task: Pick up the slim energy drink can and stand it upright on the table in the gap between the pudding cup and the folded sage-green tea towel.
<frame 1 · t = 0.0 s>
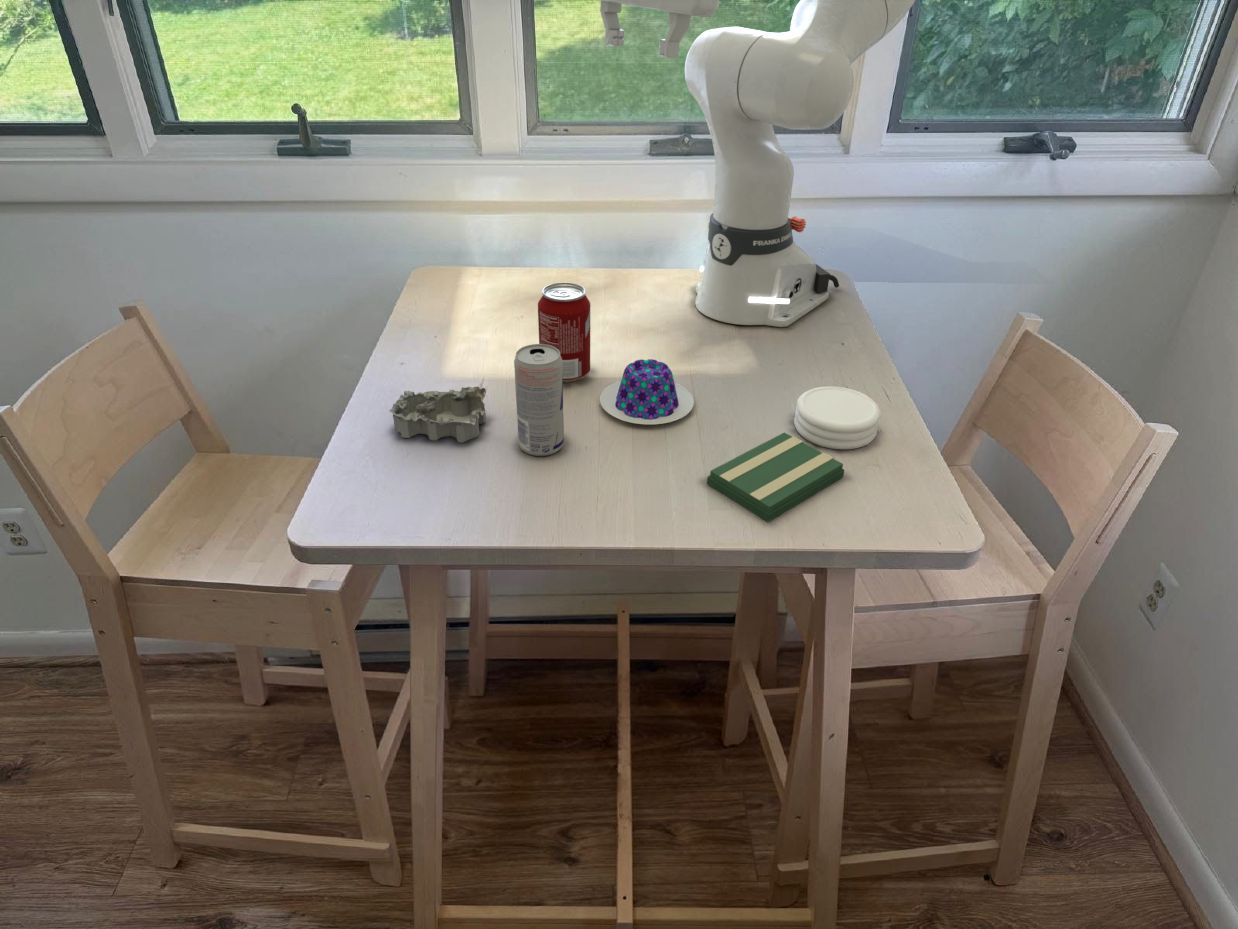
hand: (640, 51, 102), 39 cm above the table, tool pointing down, fingers open, 8 cm apart
pudding: (646, 406, 111), on the table
coaster: (834, 430, 107), on the table
tea towel: (775, 480, 98), on the table
egg carton: (441, 427, 106), on the table
energy drink: (541, 446, 103), on the table
soda can: (565, 375, 118), on the table
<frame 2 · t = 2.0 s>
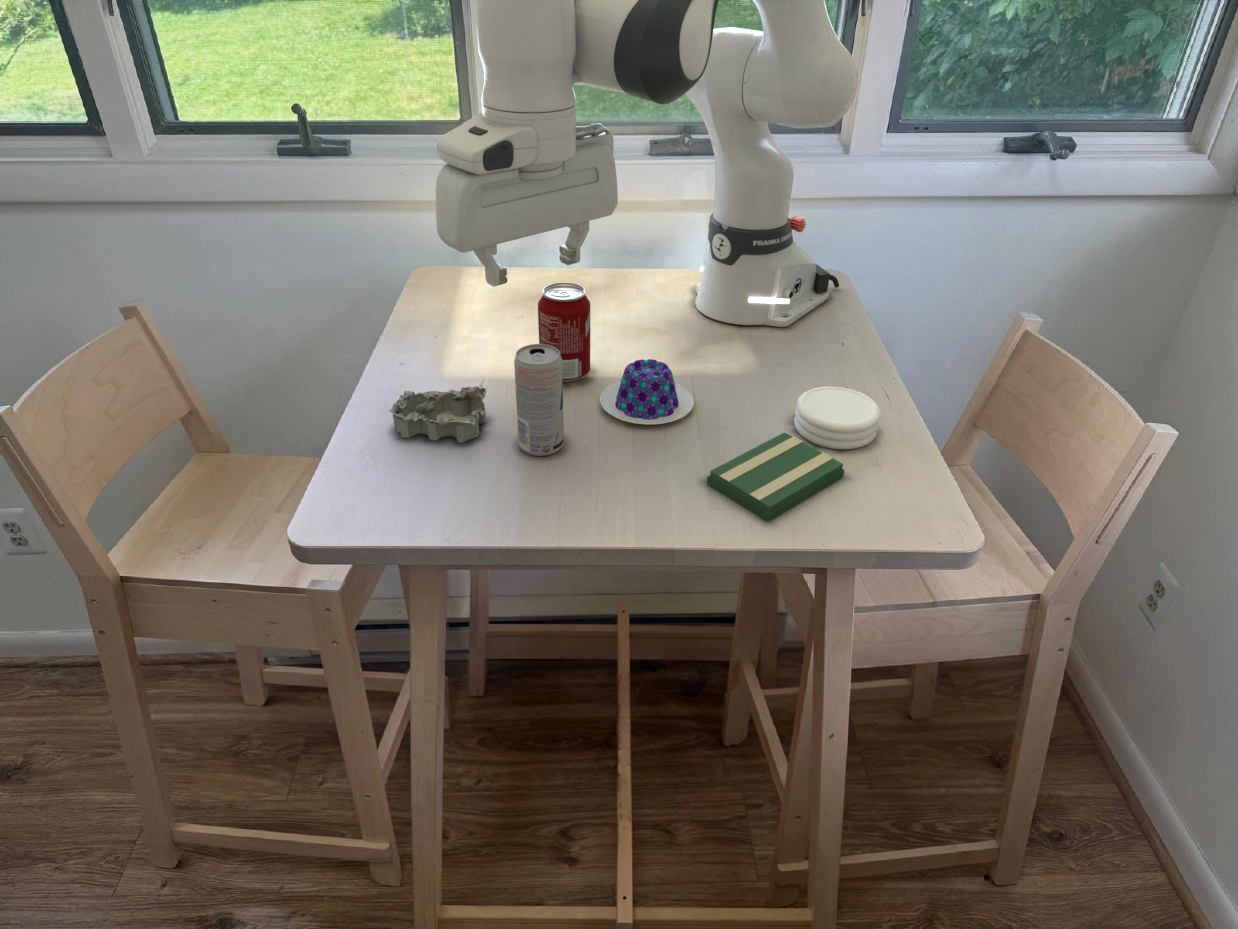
hand: (534, 272, 91), 21 cm above the table, tool pointing down, fingers open, 8 cm apart
nothing on the table moved.
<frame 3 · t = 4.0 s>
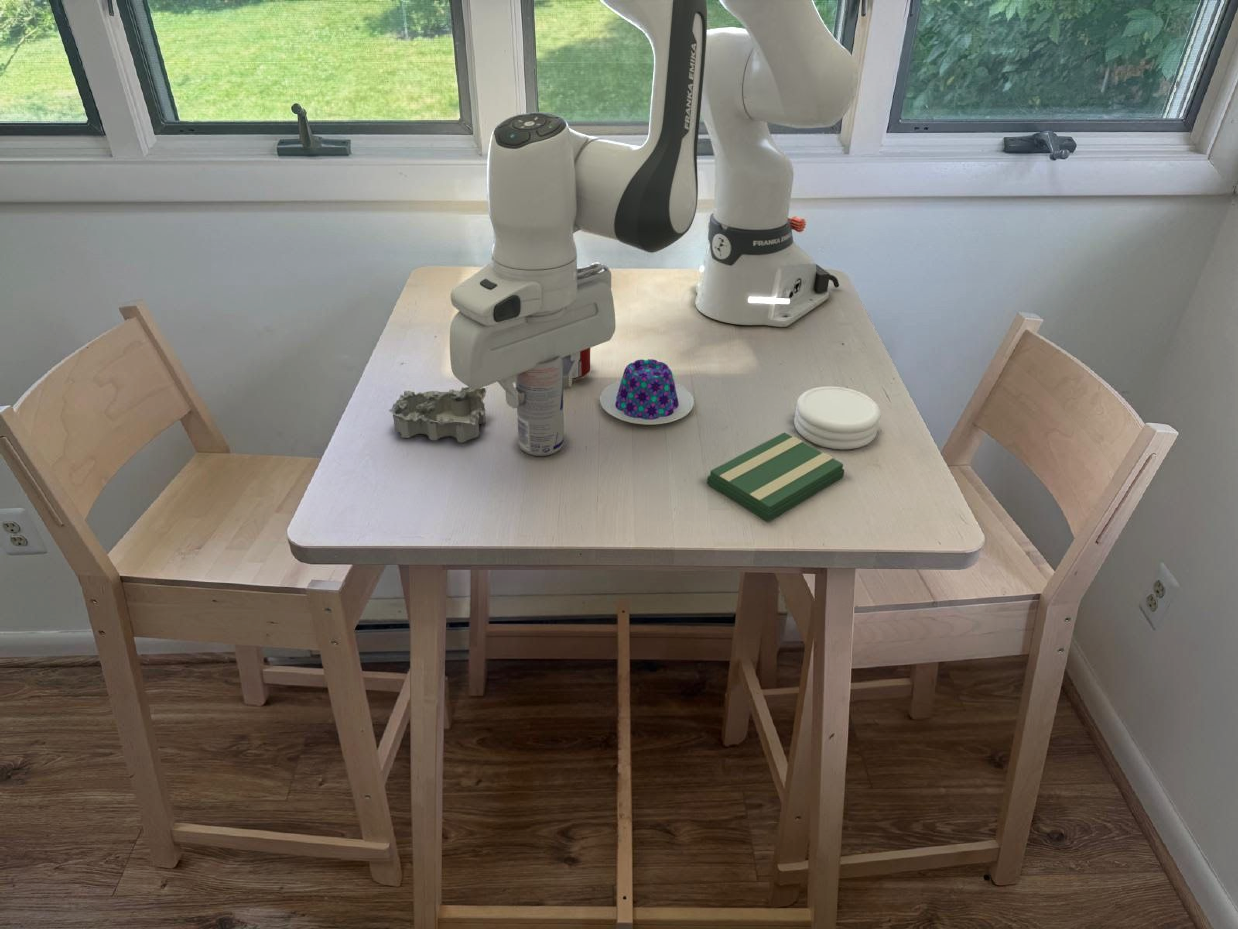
hand: (539, 395, 99), 7 cm above the table, tool pointing down, fingers closed on energy drink, 5 cm apart
energy drink: (541, 446, 103), on the table, touching gripper
everything else where it was.
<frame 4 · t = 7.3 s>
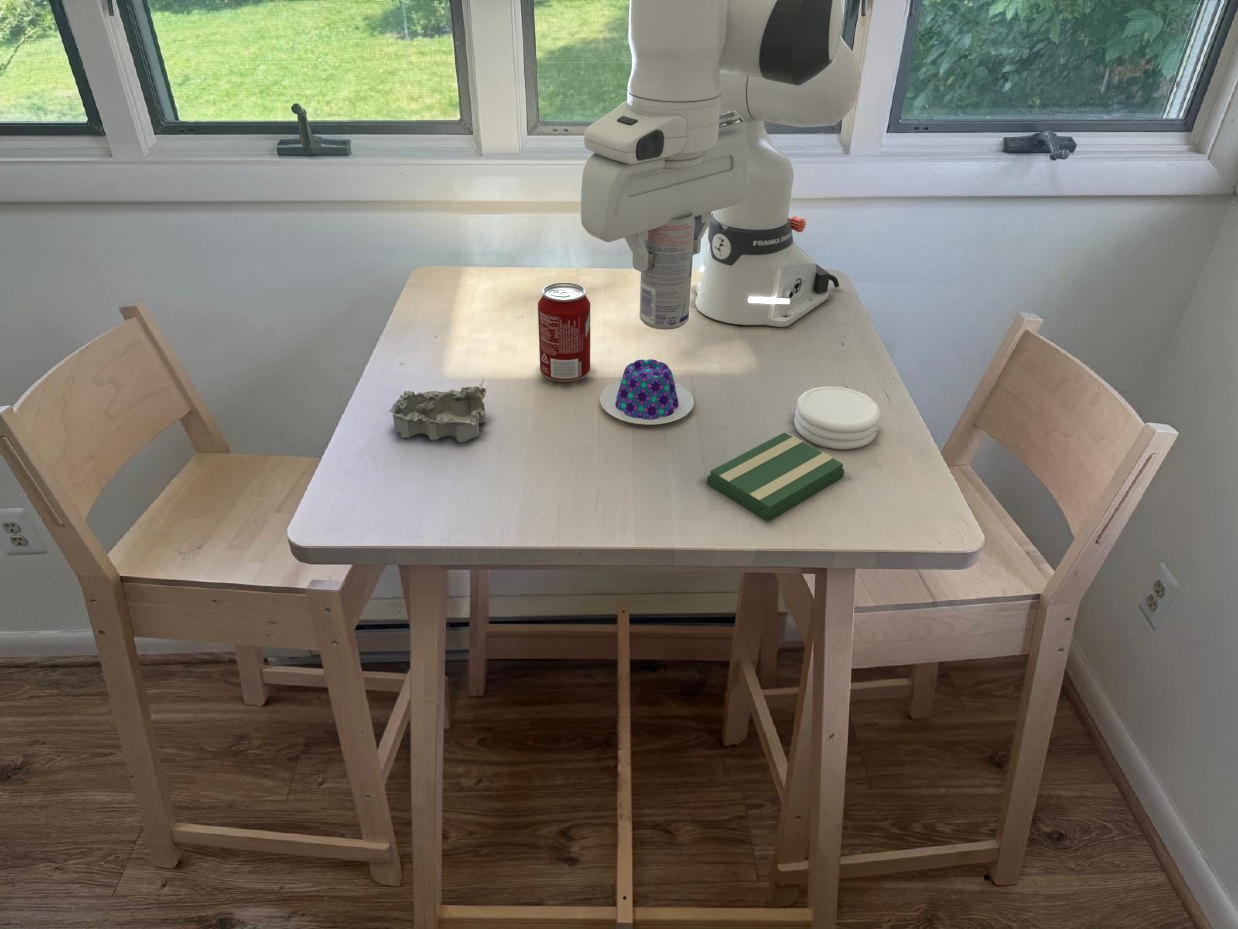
hand: (666, 261, 91), 23 cm above the table, tool pointing down, fingers closed on energy drink, 5 cm apart
energy drink: (663, 321, 95), point 16 cm above the table, touching gripper
everything else where it was.
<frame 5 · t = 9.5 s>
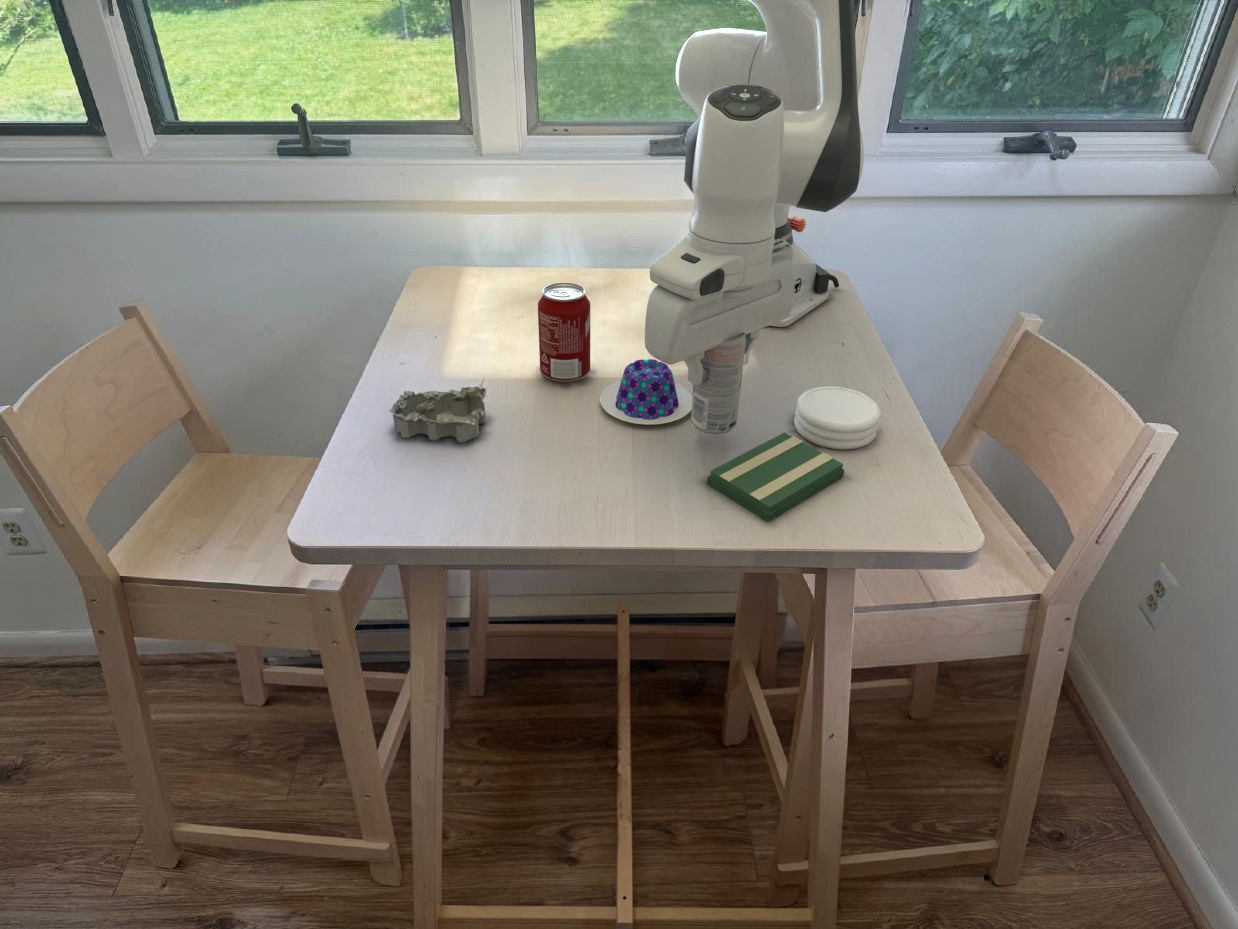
hand: (717, 373, 99), 9 cm above the table, tool pointing down, fingers closed on energy drink, 5 cm apart
energy drink: (713, 424, 103), point 3 cm above the table, touching gripper
everything else where it was.
when the fingers open (6 cm above the table, at t = 10.9 s): energy drink stays where it is, on the table.
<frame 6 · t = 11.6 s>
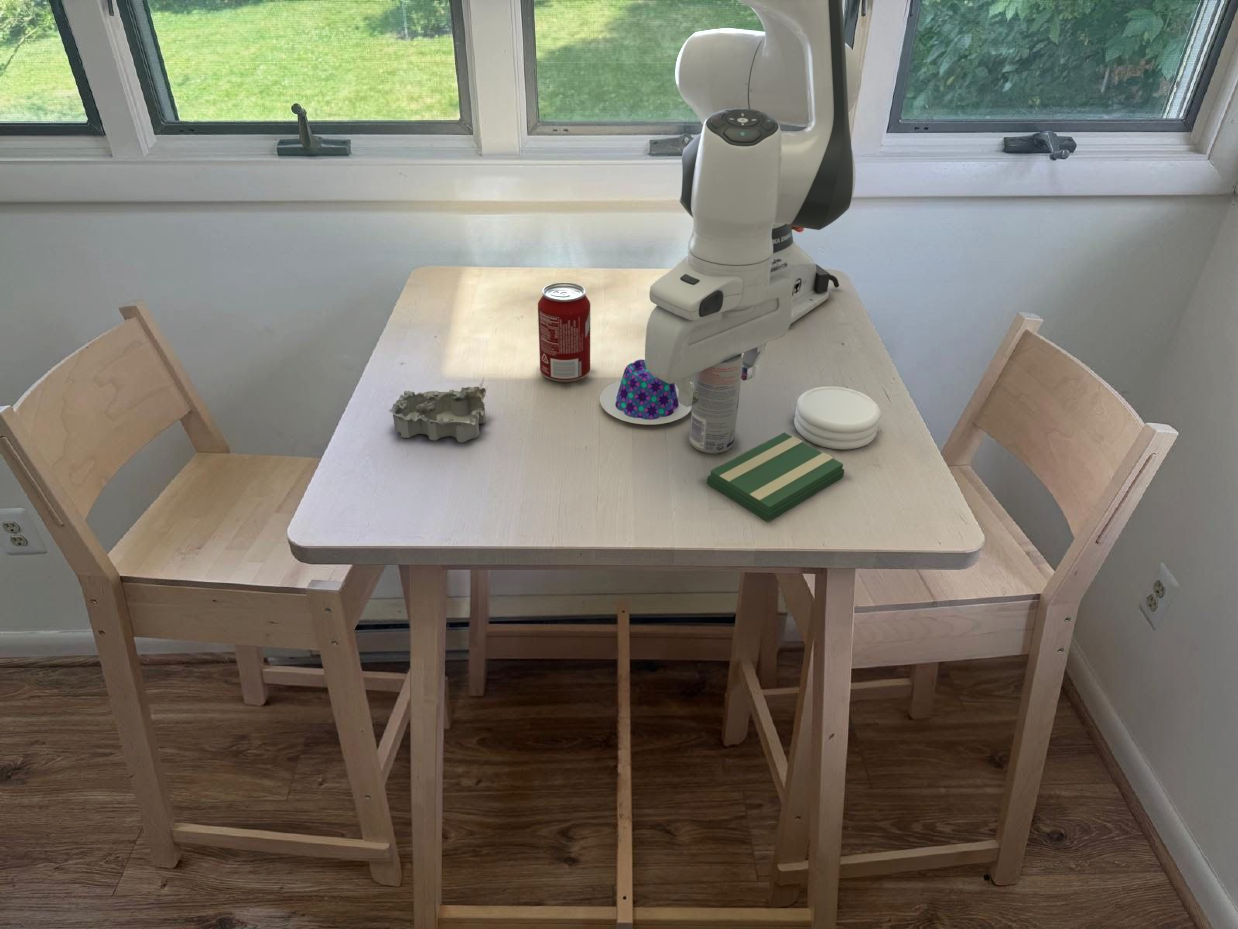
hand: (716, 390, 100), 7 cm above the table, tool pointing down, fingers open, 8 cm apart
energy drink: (711, 444, 104), on the table
everything else where it was.
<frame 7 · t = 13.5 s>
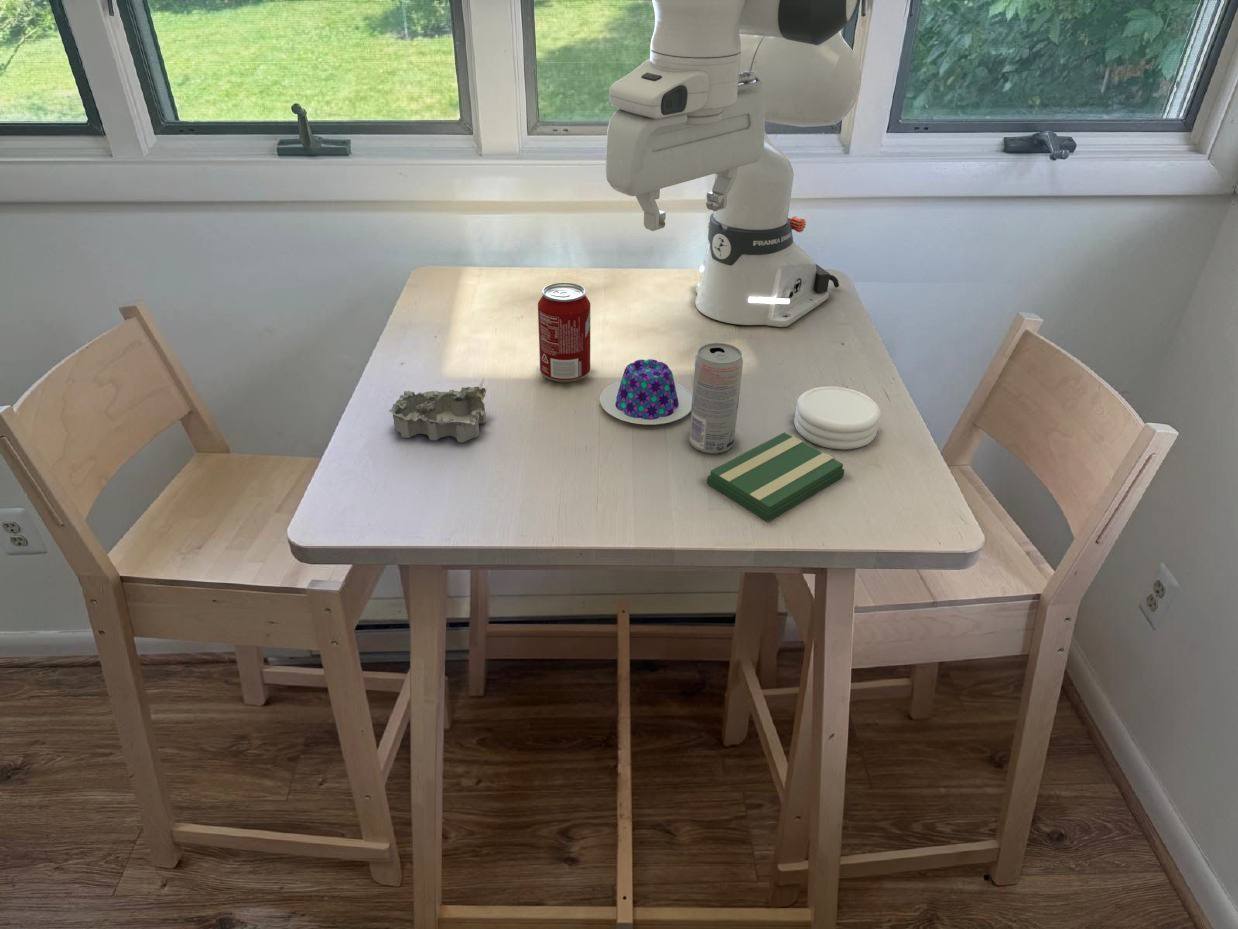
hand: (685, 218, 94), 25 cm above the table, tool pointing down, fingers open, 8 cm apart
nothing on the table moved.
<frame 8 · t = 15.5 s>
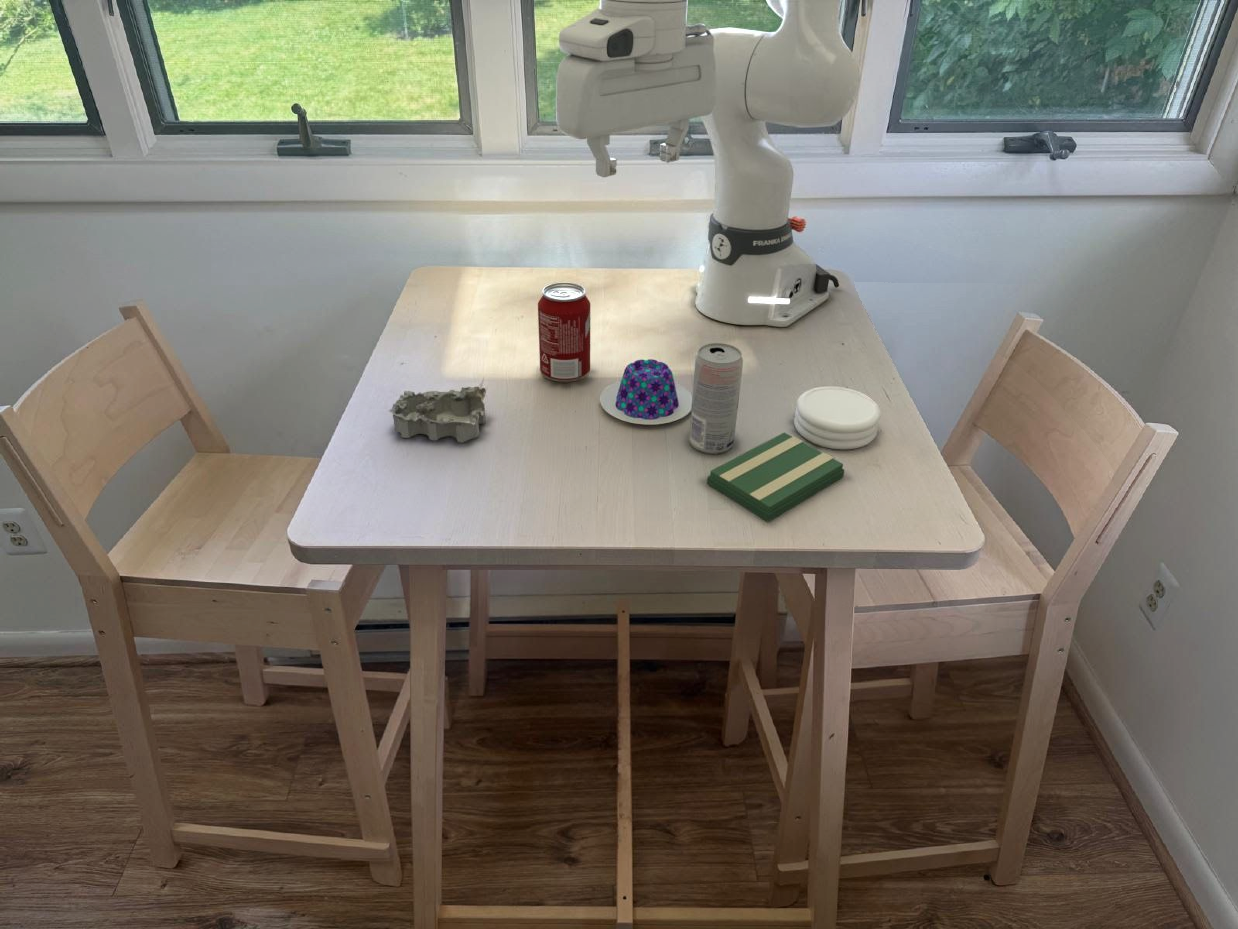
hand: (638, 167, 96), 29 cm above the table, tool pointing down, fingers open, 8 cm apart
nothing on the table moved.
at the end: energy drink inside the target area (0.0 cm from its centre), on the table; energy drink tilted 0°; the gripper is holding nothing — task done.
